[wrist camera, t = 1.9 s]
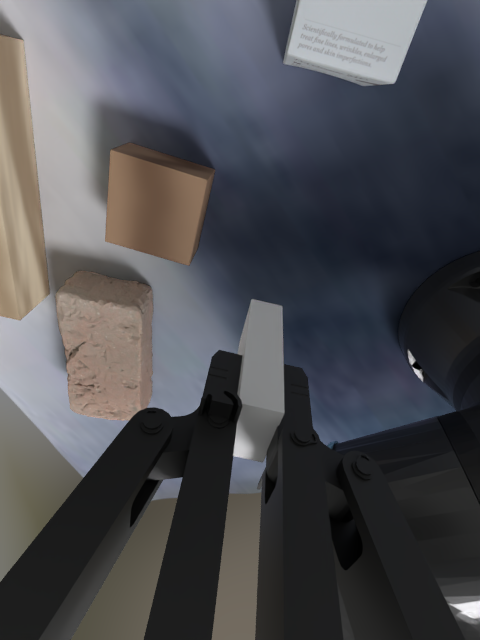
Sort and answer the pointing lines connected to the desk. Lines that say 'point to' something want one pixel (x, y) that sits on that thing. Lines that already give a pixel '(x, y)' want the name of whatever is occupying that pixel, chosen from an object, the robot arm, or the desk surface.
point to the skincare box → (353, 38)
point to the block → (156, 202)
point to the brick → (106, 344)
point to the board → (19, 191)
